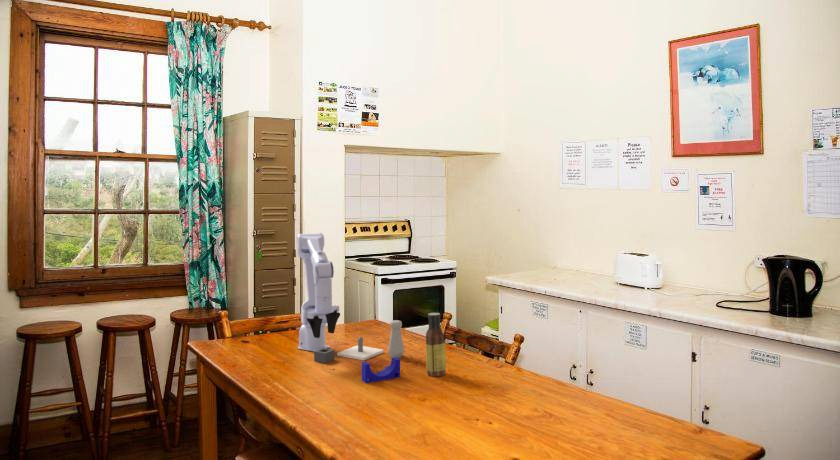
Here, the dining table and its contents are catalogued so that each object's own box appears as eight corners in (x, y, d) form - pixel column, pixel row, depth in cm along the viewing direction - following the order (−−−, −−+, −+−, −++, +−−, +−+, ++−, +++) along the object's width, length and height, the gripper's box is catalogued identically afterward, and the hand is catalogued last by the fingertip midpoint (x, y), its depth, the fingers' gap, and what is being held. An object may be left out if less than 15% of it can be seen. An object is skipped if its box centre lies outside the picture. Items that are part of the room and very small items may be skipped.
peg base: (337, 355, 206) (337, 339, 206) (357, 347, 216) (357, 332, 216) (363, 360, 200) (363, 343, 200) (383, 352, 210) (383, 336, 210)
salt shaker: (405, 354, 207) (405, 319, 207) (403, 359, 202) (403, 322, 201) (389, 354, 208) (389, 318, 207) (386, 358, 202) (386, 322, 201)
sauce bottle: (448, 372, 187) (448, 312, 186) (442, 378, 181) (442, 316, 180) (429, 370, 189) (429, 311, 188) (423, 376, 183) (422, 315, 182)
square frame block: (314, 361, 199) (314, 351, 199) (323, 357, 204) (323, 347, 203) (325, 363, 197) (325, 353, 197) (334, 359, 201) (334, 350, 201)
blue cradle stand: (394, 373, 186) (393, 355, 186) (400, 377, 182) (400, 359, 182) (359, 379, 180) (359, 361, 180) (365, 383, 176) (365, 364, 176)
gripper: (318, 301, 190) (318, 341, 191) (345, 294, 203) (346, 332, 204) (302, 299, 194) (303, 338, 195) (330, 292, 206) (330, 329, 207)
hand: (324, 335), depth 200 cm, fingers open, 7 cm apart
